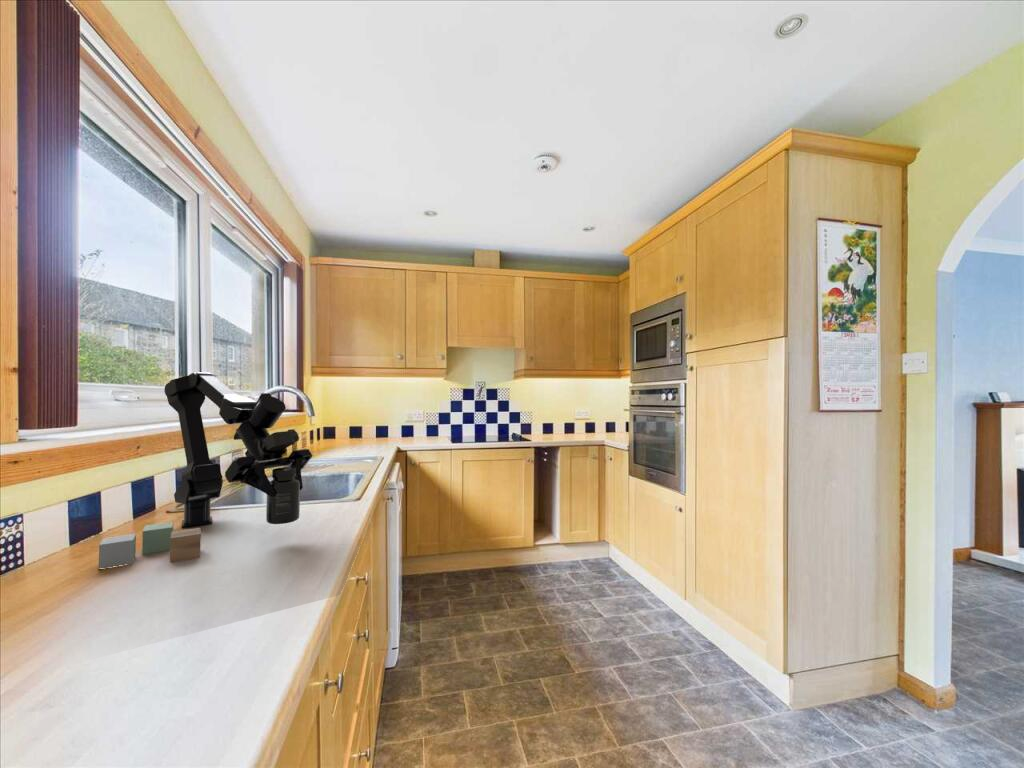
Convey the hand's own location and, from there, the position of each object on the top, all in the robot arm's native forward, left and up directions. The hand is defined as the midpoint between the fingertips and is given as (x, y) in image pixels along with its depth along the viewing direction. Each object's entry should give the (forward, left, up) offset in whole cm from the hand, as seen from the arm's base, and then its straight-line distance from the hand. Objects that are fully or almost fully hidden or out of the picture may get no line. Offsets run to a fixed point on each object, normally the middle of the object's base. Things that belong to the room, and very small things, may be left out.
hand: (287, 492), depth 99 cm
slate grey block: (-7, -30, -12) cm, 33 cm away
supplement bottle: (-1, -1, -7) cm, 7 cm away
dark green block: (-13, -24, -12) cm, 30 cm away
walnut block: (-4, -19, -12) cm, 22 cm away
